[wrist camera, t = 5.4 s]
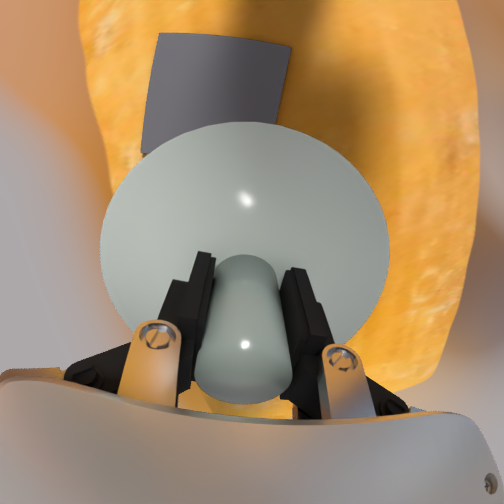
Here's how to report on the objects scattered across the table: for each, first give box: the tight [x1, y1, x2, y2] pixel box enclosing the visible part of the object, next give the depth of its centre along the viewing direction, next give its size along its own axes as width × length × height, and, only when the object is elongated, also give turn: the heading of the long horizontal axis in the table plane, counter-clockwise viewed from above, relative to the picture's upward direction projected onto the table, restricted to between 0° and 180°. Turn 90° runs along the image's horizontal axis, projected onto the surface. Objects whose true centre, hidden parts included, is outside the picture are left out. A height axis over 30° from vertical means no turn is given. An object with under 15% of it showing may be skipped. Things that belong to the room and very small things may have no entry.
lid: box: [100, 122, 390, 404], centre depth 10 cm, size 13×13×6 cm
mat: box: [141, 33, 291, 154], centre depth 26 cm, size 14×14×1 cm
